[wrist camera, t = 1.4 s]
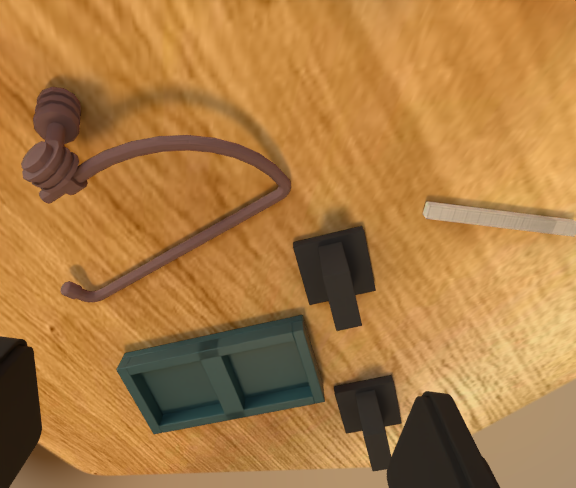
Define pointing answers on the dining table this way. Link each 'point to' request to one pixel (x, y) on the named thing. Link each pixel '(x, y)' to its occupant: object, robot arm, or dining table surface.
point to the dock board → (224, 375)
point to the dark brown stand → (336, 272)
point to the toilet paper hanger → (72, 178)
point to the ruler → (499, 219)
